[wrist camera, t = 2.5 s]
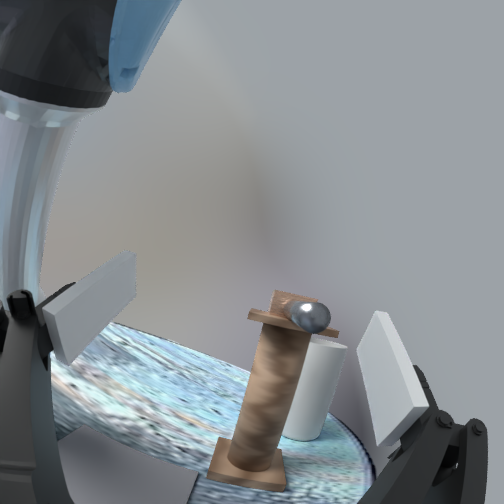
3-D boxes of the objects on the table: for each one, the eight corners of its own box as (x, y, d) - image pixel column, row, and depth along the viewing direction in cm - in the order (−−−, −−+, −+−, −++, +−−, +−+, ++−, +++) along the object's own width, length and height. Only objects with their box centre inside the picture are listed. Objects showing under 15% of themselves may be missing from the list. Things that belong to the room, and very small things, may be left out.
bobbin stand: (206, 478, 32) (249, 311, 37) (216, 443, 45) (251, 308, 50) (282, 492, 31) (339, 331, 36) (278, 456, 44) (319, 323, 49)
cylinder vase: (300, 419, 66) (324, 339, 70) (328, 438, 55) (357, 349, 59) (263, 421, 61) (288, 334, 65) (290, 445, 50) (321, 346, 54)
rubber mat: (-19, 486, 7) (-20, 483, 7) (84, 426, 34) (84, 424, 34) (148, 595, 5) (148, 594, 5) (197, 474, 33) (198, 472, 33)
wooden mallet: (345, 339, 24) (354, 299, 25) (275, 325, 25) (285, 284, 25) (304, 320, 49) (309, 299, 49) (267, 312, 49) (272, 290, 50)
